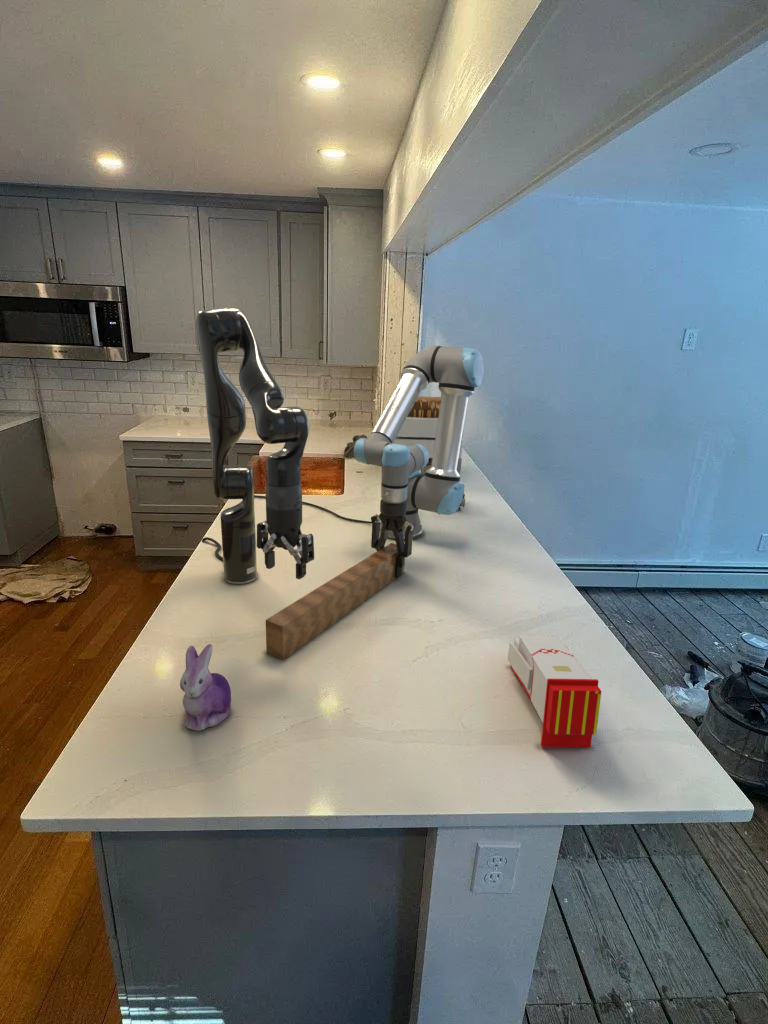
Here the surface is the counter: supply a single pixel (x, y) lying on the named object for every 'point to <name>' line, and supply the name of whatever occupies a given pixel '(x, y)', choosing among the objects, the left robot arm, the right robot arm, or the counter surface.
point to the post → (329, 602)
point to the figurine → (204, 691)
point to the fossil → (352, 446)
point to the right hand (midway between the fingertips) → (389, 573)
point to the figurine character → (462, 502)
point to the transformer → (423, 426)
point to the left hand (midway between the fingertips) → (285, 572)
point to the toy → (557, 690)
